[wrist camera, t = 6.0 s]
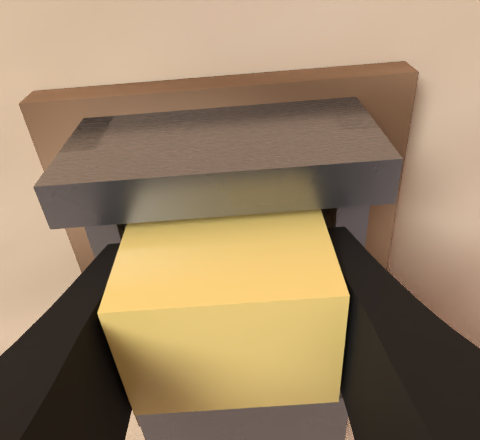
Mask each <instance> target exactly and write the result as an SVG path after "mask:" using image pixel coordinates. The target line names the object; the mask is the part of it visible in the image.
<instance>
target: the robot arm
mask: <svg viewBox="0 0 480 440" xmlns="http://www.w3.org/2000/svg"><path fill="white" fill-rule="evenodd" d="M327 230H328V233H329V235H330V238H331V241H332V244H333V247H334V250H335V253H336V256H337V259H338V262H339V265H340V268H341V271H342V274H343V277H344V280H345V283H346V286H347V289H348V292H349V295H350V299H349V309H348V318H347V328H346V337H345V347H344V356H343V366H342V375H341V385H340V391H341V394H342V397H343V400H344V404H345V407H346V410H347V413H348V417H349V420H350V424H351V427H352V431H353V435H354V439H355V440H480V349H479V348H478V347H477V346H475V345H474V344H472V343H471V342H470V341H468V340H467V339H466V338H464V337H463V336H462V335H460V334H459V333H458V332H456V331H455V330H453V329H452V328H451V327H450V326H448V325H447V324H446V323H445V322H443V321H442V320H441V319H440V318H439V317H437V316H436V315H435V314H434V313H433V312H432V311H430V310H429V309H428V308H427V307H426V306H425V305H423V304H422V303H421V302H420V301H419V300H418V299H417V298H415V297H414V296H413V295H412V294H411V293H410V292H409V291H408V290H407V289H406V288H405V287H404V286H403V285H401V284H400V283H399V282H398V281H397V280H396V279H395V278H394V277H393V276H392V275H391V274H390V273H389V272H388V271H387V270H386V269H385V268H384V267H383V266H382V265H381V264H380V263H379V262H378V261H377V260H376V259H375V258H374V257H373V256H372V255H371V254H370V253H369V252H368V251H367V249H366V248H365V247H364V246H363V245H362V244H361V243H360V242H359V241H358V240H357V239H356V238H355V236H354V235H353V234H352V233H351V232H350V231H349V230H348V229H347V228H346V227H332V228H327ZM119 246H120V243H114V244H108V245H107V246H106V247H105V248H104V249H103V250H102V251H101V252H100V253H99V254H98V256H97V257H96V258H95V259H94V260H93V261H92V262H91V263H90V265H89V266H88V267H87V268H86V269H85V270H84V271H83V272H82V274H81V275H80V276H79V277H78V278H77V279H76V280H75V281H74V282H73V284H72V285H71V286H70V287H69V288H68V289H67V290H66V291H65V292H64V293H63V294H62V296H61V297H60V298H59V299H58V300H57V301H56V302H55V303H54V304H53V305H52V306H51V307H50V308H49V309H48V310H47V311H46V312H45V313H44V314H43V315H42V316H41V317H40V318H39V319H38V320H37V321H36V322H35V323H34V324H33V325H32V326H31V327H30V328H29V329H28V330H27V331H26V332H25V333H24V334H23V335H22V336H21V337H20V338H19V339H18V340H17V341H16V342H15V343H14V344H13V345H12V346H11V347H10V348H9V349H7V350H6V351H5V352H4V353H3V354H2V355H1V356H0V440H125V437H126V432H127V428H128V424H129V419H130V415H131V411H132V407H131V405H130V402H129V399H128V396H127V394H126V391H125V388H124V385H123V383H122V380H121V377H120V374H119V372H118V369H117V366H116V363H115V361H114V358H113V355H112V352H111V350H110V347H109V344H108V342H107V339H106V336H105V333H104V331H103V328H102V325H101V322H100V320H99V317H98V314H97V313H98V310H99V307H100V304H101V301H102V298H103V295H104V291H105V288H106V285H107V282H108V279H109V276H110V273H111V270H112V267H113V264H114V261H115V258H116V255H117V252H118V249H119Z"/></svg>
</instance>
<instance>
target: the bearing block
mask: <svg viewBox="0 0 480 440" xmlns="http://www.w3.org/2000/svg"><path fill="white" fill-rule="evenodd" d="M136 416H137V418H138V421H139V424H140V427H141V429H142V432H143V435H144V437H145V440H345V434H346V426H347V418H348V413H347V410H346V407H345V404H344V400H343V397H342V394H341V391H340V394H339V402H332V403H317V404H301V405H286V406H271V407H256V408H240V409H225V410H210V411H194V412H179V413H164V414H149V415H136Z"/></svg>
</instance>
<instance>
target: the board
mask: <svg viewBox="0 0 480 440" xmlns="http://www.w3.org/2000/svg"><path fill="white" fill-rule="evenodd" d="M418 74H419V72H418V71H417V70H416V69H414V68H413V67H412V66H410V65H409V64H408V63H407V62H405V61H402V62H389V63H377V64H364V65H352V66H339V67H327V68H314V69H302V70H289V71H277V72H264V73H252V74H239V75H227V76H214V77H202V78H189V79H177V80H164V81H152V82H139V83H127V84H114V85H102V86H89V87H77V88H64V89H52V90H39V91H33V92H32V93H30V94H29V95H28V96H27V97H26V98H25V99H24V100H22V101H21V102H20V103H19V106H20V109H21V111H22V114H23V117H24V119H25V122H26V125H27V127H28V130H29V133H30V135H31V138H32V141H33V143H34V146H35V149H36V152H37V154H38V157H39V160H40V162H41V165H42V168H43V170H44V172H45V170H46V169H47V168H48V166H49V165H50V163H51V162H52V161H53V159H54V158H55V157H56V155H57V154H58V152H59V151H60V150H61V148H62V147H63V146H64V144H65V143H66V141H67V140H68V139H69V137H70V136H71V135H72V133H73V132H74V130H75V129H76V128H77V126H78V125H79V124H80V122H81V121H82V119H83V118H92V117H104V116H117V115H130V114H142V113H155V112H168V111H180V110H193V109H206V108H218V107H231V106H244V105H257V104H269V103H282V102H295V101H307V100H320V99H333V98H345V97H357V98H358V100H359V101H360V102H361V104H362V105H363V106H364V108H365V109H366V110H367V112H368V113H369V114H370V116H371V117H372V118H373V120H374V121H375V122H376V124H377V125H378V126H379V128H380V129H381V130H382V132H383V133H384V134H385V136H386V137H387V138H388V139H389V141H390V142H391V143H392V145H393V146H394V147H395V149H396V150H397V151H398V153H399V154H400V155H401V157H402V158H403V162H402V168H401V174H400V180H399V187H398V193H397V199H396V204H384V205H371V206H370V210H369V218H368V226H367V235H366V243H365V248H366V249H367V251H368V252H369V253H370V254H371V255H372V256H373V257H374V258H375V259H376V260H377V261H378V262H379V263H380V264H381V265H382V266H383V267H384V268H385V269H386V270H387V264H388V258H389V252H390V246H391V239H392V233H393V227H394V221H395V215H396V209H397V203H398V196H399V190H400V184H401V178H402V172H403V166H404V160H405V153H406V147H407V141H408V135H409V129H410V123H411V117H412V111H413V104H414V98H415V92H416V86H417V80H418ZM65 229H66V232H67V235H68V237H69V240H70V243H71V245H72V248H73V251H74V253H75V256H76V259H77V261H78V264H79V267H80V269H81V272H83V271H84V270H85V269H86V268H87V267H88V266H89V265H90V263H91V262H92V261H93V260H94V259H95V257H94V255H93V252H92V249H91V246H90V243H89V240H88V237H87V234H86V231H85V228H84V227H75V228H65ZM135 417H136V420H137V422H138V425H139V426H140V424H139V421H138V418H137V416H136V415H135Z"/></svg>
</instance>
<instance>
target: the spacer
mask: <svg viewBox="0 0 480 440" xmlns="http://www.w3.org/2000/svg"><path fill="white" fill-rule="evenodd" d="M349 299H350V295H349V292H348V289H347V286H346V283H345V280H344V277H343V274H342V271H341V268H340V265H339V262H338V259H337V256H336V253H335V250H334V247H333V244H332V241H331V238H330V235H329V233H328V230H327V227H326V224H325V221H324V218H323V215H322V212H321V209H317V210H304V211H290V212H277V213H263V214H250V215H236V216H223V217H209V218H196V219H182V220H169V221H156V222H142V223H129V224H127V225H126V228H125V231H124V234H123V237H122V240H121V243H120V246H119V249H118V252H117V255H116V258H115V261H114V264H113V267H112V270H111V273H110V276H109V279H108V282H107V285H106V288H105V291H104V295H103V298H102V301H101V304H100V307H99V310H98V313H97V314H98V317H99V320H100V322H101V325H102V328H103V331H104V333H105V336H106V339H107V342H108V344H109V347H110V350H111V352H112V355H113V358H114V361H115V363H116V366H117V369H118V372H119V374H120V377H121V380H122V383H123V385H124V388H125V391H126V394H127V396H128V399H129V402H130V405H131V407H132V410H133V413H134V415H149V414H164V413H179V412H194V411H210V410H225V409H240V408H256V407H271V406H286V405H301V404H317V403H332V402H339V394H340V385H341V375H342V366H343V356H344V347H345V337H346V328H347V318H348V309H349Z"/></svg>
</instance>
